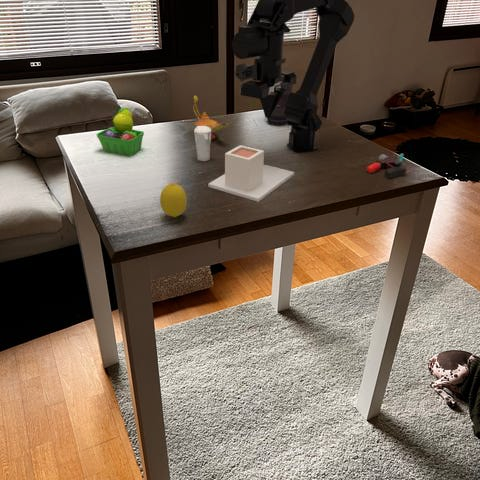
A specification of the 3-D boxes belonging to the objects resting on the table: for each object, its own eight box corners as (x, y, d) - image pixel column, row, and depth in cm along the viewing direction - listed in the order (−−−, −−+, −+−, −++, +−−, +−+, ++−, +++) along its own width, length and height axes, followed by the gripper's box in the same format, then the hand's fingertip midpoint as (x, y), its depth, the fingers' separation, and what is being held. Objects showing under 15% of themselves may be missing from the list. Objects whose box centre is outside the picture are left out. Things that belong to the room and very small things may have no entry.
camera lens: (263, 125, 155) (265, 78, 147) (266, 118, 161) (268, 72, 153) (288, 127, 153) (292, 79, 146) (290, 119, 160) (293, 73, 152)
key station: (247, 162, 128) (248, 131, 123) (294, 175, 122) (296, 142, 117) (208, 186, 115) (207, 152, 110) (258, 201, 109) (259, 166, 104)
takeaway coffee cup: (212, 163, 127) (211, 127, 122) (193, 161, 128) (191, 125, 123) (216, 157, 131) (216, 121, 126) (197, 155, 132) (196, 120, 127)
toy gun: (384, 160, 132) (387, 143, 130) (410, 177, 123) (414, 160, 120) (353, 164, 130) (356, 147, 127) (377, 182, 120) (380, 164, 117)
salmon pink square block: (241, 161, 115) (241, 149, 114) (257, 165, 113) (257, 153, 112) (231, 166, 112) (231, 154, 111) (247, 171, 110) (247, 159, 109)
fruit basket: (97, 152, 133) (91, 112, 127) (115, 141, 140) (110, 103, 134) (132, 158, 130) (127, 117, 124) (149, 147, 137) (145, 108, 131)
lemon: (162, 211, 104) (159, 178, 100) (187, 210, 105) (186, 177, 100) (160, 224, 100) (158, 189, 95) (187, 223, 100) (185, 188, 96)
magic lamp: (216, 149, 136) (216, 111, 130) (184, 132, 148) (183, 96, 142) (236, 145, 139) (236, 107, 134) (203, 128, 152) (202, 93, 146)
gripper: (261, 44, 125) (259, 103, 133) (221, 55, 112) (221, 121, 120) (299, 49, 120) (294, 110, 128) (262, 62, 107) (259, 129, 115)
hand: (267, 117), depth 123 cm, fingers closed
